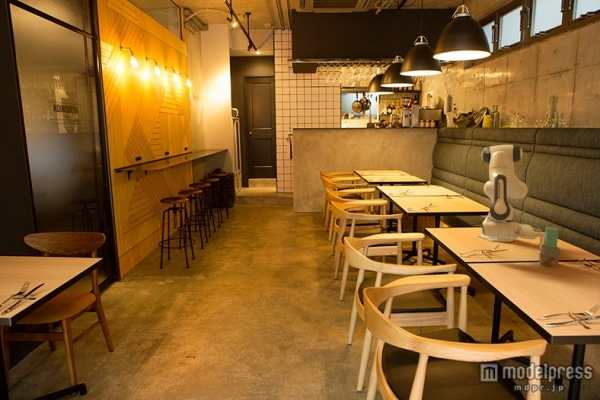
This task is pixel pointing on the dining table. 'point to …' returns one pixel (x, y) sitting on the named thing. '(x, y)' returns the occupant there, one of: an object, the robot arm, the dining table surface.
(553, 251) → the tower top
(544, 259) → the tower base
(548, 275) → the dining table surface
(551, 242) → the teal pillar
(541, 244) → the stack of blocks
